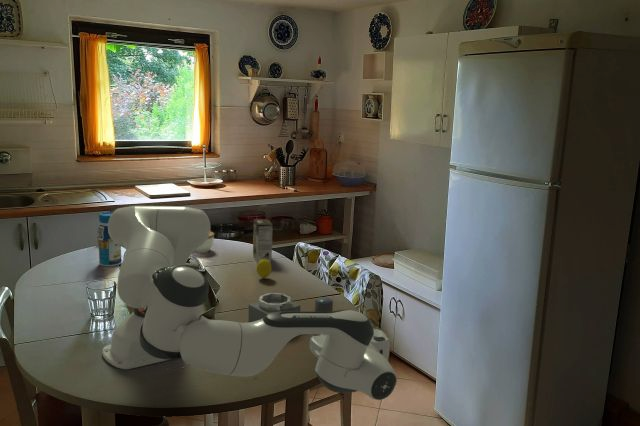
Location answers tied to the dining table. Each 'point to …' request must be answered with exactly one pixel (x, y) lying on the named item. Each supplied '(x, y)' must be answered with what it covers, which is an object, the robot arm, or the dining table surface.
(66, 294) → the dining table surface
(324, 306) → the dark grey cylinder
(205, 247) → the lidded jar
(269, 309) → the grey cube with hole
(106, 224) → the blue cylindrical canister
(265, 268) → the lemon
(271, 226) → the coffee box
